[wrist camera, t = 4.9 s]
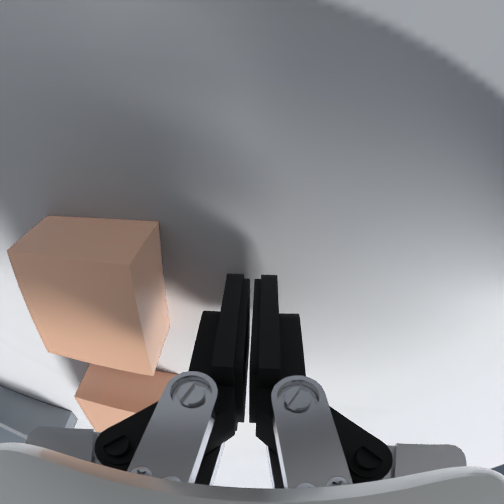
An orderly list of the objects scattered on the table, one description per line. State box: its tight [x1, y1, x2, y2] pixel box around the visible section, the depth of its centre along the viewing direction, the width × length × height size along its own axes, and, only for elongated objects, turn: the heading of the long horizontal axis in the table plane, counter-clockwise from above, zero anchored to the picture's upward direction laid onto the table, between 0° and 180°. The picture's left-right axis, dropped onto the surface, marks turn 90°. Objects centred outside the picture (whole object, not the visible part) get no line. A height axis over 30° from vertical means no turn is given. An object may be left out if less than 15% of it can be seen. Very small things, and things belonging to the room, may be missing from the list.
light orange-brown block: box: [7, 216, 170, 376], centre depth 11 cm, size 5×5×3 cm
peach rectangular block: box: [74, 363, 178, 432], centre depth 15 cm, size 5×5×3 cm
